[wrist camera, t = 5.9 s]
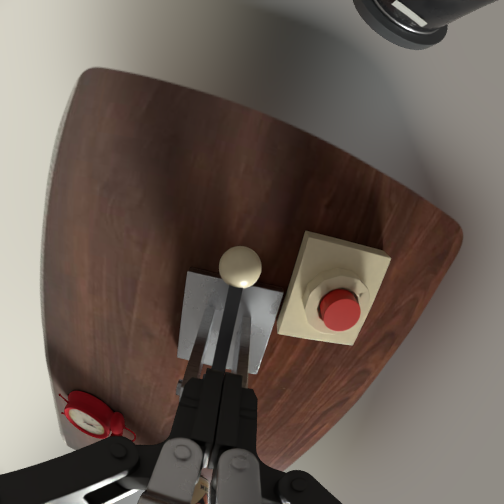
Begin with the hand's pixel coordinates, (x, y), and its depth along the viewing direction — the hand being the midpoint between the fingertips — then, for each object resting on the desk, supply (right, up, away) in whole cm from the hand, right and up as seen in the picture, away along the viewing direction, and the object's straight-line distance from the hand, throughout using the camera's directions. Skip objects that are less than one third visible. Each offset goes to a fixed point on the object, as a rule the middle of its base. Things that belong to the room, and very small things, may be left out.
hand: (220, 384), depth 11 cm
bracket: (-2, -3, +21) cm, 21 cm away
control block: (+10, +2, +19) cm, 21 cm away
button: (+10, 0, +15) cm, 18 cm away
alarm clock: (-26, -24, +29) cm, 46 cm away
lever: (-1, -1, +13) cm, 13 cm away
